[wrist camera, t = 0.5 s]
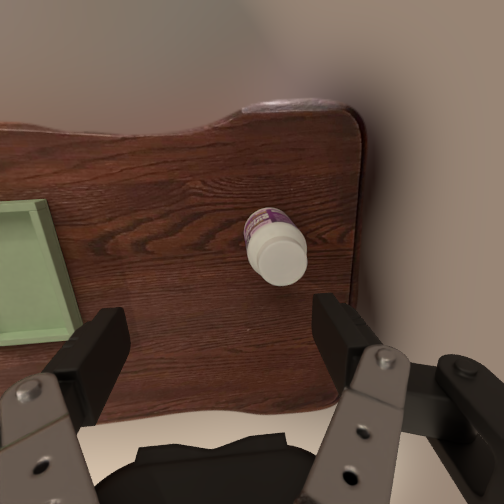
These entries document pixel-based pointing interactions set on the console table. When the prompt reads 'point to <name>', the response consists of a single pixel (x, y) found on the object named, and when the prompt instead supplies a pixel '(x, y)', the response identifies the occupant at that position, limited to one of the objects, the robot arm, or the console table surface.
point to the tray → (33, 277)
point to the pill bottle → (275, 247)
